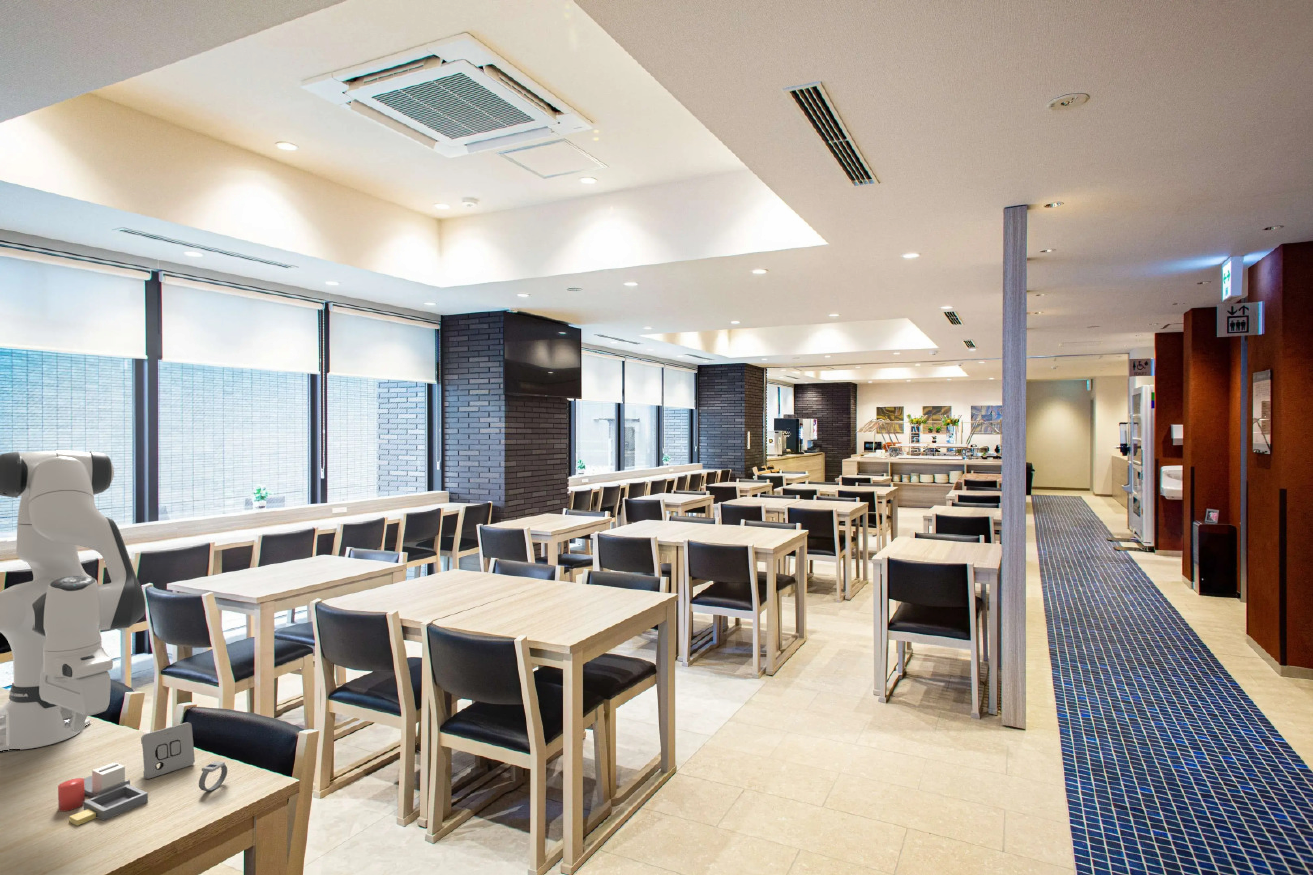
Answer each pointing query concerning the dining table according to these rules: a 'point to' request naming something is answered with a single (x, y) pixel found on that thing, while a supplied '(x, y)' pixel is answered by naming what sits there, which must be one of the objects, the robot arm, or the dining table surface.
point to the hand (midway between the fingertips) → (73, 728)
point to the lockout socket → (110, 804)
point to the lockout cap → (71, 794)
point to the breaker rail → (92, 794)
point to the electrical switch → (167, 750)
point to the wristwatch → (211, 768)
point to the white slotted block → (107, 776)
